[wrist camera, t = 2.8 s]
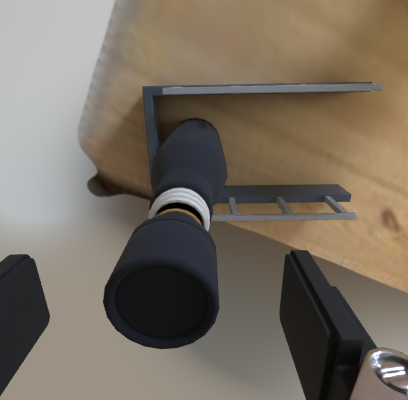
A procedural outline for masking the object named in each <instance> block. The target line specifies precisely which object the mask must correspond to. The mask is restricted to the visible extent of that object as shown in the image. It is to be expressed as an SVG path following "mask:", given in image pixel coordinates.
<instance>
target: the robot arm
mask: <svg viewBox="0 0 408 400" xmlns="http://www.w3.org/2000/svg"><path fill="white" fill-rule="evenodd" d="M49 319H50V314H49V310H48V307H47V303H46V300H45V296H44V292H43V289H42V286H41V281H40V278H39V274H38V271H37V267H36V264H35V261H34V259H32V258H30V256H29V255H27V254H18V255H9V256H7V257H6V258H5V259H4V260H3V261H1V262H0V396H1V394H2V393H3V391H4V390H5V388H6V387H7V385H8V384H9V382H10V381H11V379H12V378H13V376H14V375H15V373H16V372H17V370H18V369H19V367H20V366H21V364H22V363H23V361H24V360H25V358H26V357H27V355H28V353H29V352H30V351H31V349H32V348H33V346H34V345H35V343H36V342H37V340H38V339H39V337H40V336H41V334H42V333H43V331H44V330H45V328H46V327H47V325H48V323H49ZM280 321H281V324H282V327H283V330H284V334H285V337H286V340H287V343H288V345H289V349H290V352H291V355H292V358H293V361H294V364H295V367H296V370H297V373H298V376H299V379H300V382H301V385H302V388H303V392H304V395H305V398H306V400H408V356H407V355H405V354H403V353H402V352H399V351H396V350H393V349H389V348H377V347H376V345H375V344H374V342H373V341H372V339H371V338H370V336H369V335H368V333H367V332H366V330H365V329H364V327H363V326H362V324H361V323H360V321H359V320H358V318H357V317H356V315H355V314H354V312H353V311H352V309H351V308H350V306H349V305H348V303H347V302H346V300H345V299H344V297H343V296H342V294H341V293H340V291H339V290H338V289H337V288H336V287H334V286H330V284H329V283H328V281H327V279H326V278H325V277H324V275H323V273H322V272H321V270H320V269H319V267H318V266H317V264H316V262H315V261H314V259H313V258H312V256H311V255H310V253H309V252H308V251H307V250H295V251H293V250H292V251H291V252H290V254H287V255H286V256H285V263H284V273H283V283H282V293H281V303H280Z"/></svg>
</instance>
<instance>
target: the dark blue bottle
mask: <svg viewBox="0 0 408 400" xmlns="http://www.w3.org/2000/svg"><path fill="white" fill-rule="evenodd" d="M226 178H227V168H226V162H225V158H224V154H223V150H222V146H221V142H220V138H219V135H218V132H217V130H216V129H215V128H214V126H213V125H212V124H211V123H209V122H207V121H206V120H203V119H199V118H192V119H187V120H185V121H183V122H181V123H180V124H179V125H178V126H177V127H176V128H175V129H174V131H173V132H172V133H171V134H170V136H169V137H168V138H167V139H166V141H165V142H164V143H163V144H162V146H161V147H160V148H159V149H158V151H157V153H156V155H155V157H154V159H153V162H152V169H151V184H152V190H153V193H154V195H153V196H152V198H151V202H150V208H149V210H150V211H149V217H148V220H146V221H144V222H143V223H142V224H141V225H140V226H138V227H137V228H136V229H135V230H134V232H133V234H132V236H131V238H130V239H129V241H128V243H127V245H126V247H125V249H124V251H123V253H122V255H121V257H120V259H119V261H118V263H117V264H116V267H115V268H114V270H113V272H112V274H111V276H110V278H109V280H108V282H107V284H106V286H105V290H104V299H103V304H104V307H105V311H106V315H107V318H108V319H109V320H110V322H111V323H112V325H113V326H114V327H115V329H116V330H117V331H118V332H120V333H121V334H122V335H124V336H125V337H126V338H127V339H129V340H131V341H133V342H136V343H138V344H140V345H143V346H146V347H152V348H158V349H168V348H178V347H182V346H185V345H188V344H191V343H193V342H195V341H196V340H198V339H199V338H201V337H203V336H204V335H205V334H206V333H207V332H208V331H209V329H210V328H211V327H212V326H213V324H214V323H215V320H216V317H217V314H218V311H219V295H218V279H217V278H218V276H217V259H216V247H215V244H214V242H213V239H212V237H211V235H210V234H209V232H208V229H209V225H210V222H211V219H212V215H213V206H214V205H215V203H216V202H217V200H218V199H219V197H220V196H221V194H222V192H223V189H224V186H225V182H226Z"/></svg>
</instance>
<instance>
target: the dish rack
mask: <svg viewBox="0 0 408 400" xmlns="http://www.w3.org/2000/svg"><path fill="white" fill-rule="evenodd" d="M382 86H383V84H382V83H381V84H372V82H341V83H291V84H240V85H190V86H143V98H144V109H145V120H146V131H147V142H148V153H149V164H150V175H151V169H152V162H153V159H154V157H155V155H156V153H157V151H158V149H159V148H160V147H161V146H162V145H161V132H160V118H159V104H158V96H176V95H228V94H280V93H331V92H370V91H381V90H382ZM151 186H152V184H151ZM153 195H154V193H153V190H152V196H153ZM350 199H351V194H350V193H349V192H347V191H346V190H345V189H343V188H342V187H340V186H339V185H338V184H331V185H261V186H224V189H223V192H222V194H221V196H220V197H219V199H218V200H217V202H216V203H229V206H230V211H231V214H213V215H212V219H211V221H274V220H355V219H356V217H357V214H355V213H348V211H346V210H345V209H344V208H343V207H342V206H341V205H340V204H338V203H337V202H350ZM286 202H325V203H327V204H328V205H329V206H330V207H331V208H332V209H333V210H334V211H335V212H336V213H293V212H292V211H291V209H290V208H289V206H288V205H287V203H286ZM236 203H277V204H278V205H279V207H280V209H281V210H282V212H283V214H238V211H237V207H236Z"/></svg>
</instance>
